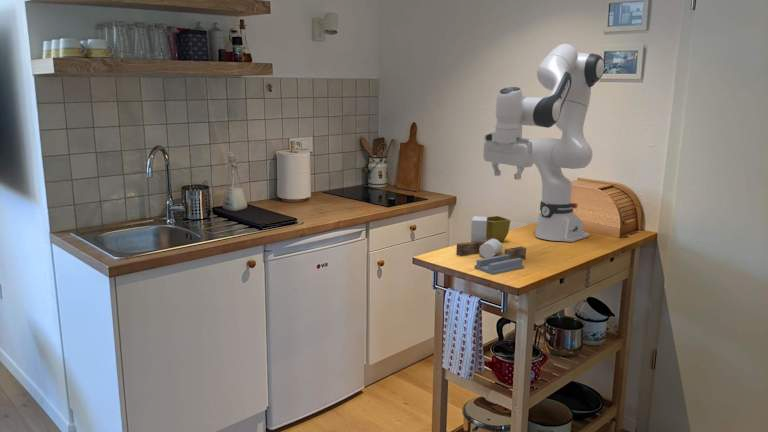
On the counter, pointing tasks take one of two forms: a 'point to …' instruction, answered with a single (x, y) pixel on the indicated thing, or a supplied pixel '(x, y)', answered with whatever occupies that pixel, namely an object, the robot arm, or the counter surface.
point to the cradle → (499, 264)
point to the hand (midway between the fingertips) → (507, 177)
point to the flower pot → (497, 228)
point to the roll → (490, 248)
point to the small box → (478, 228)
